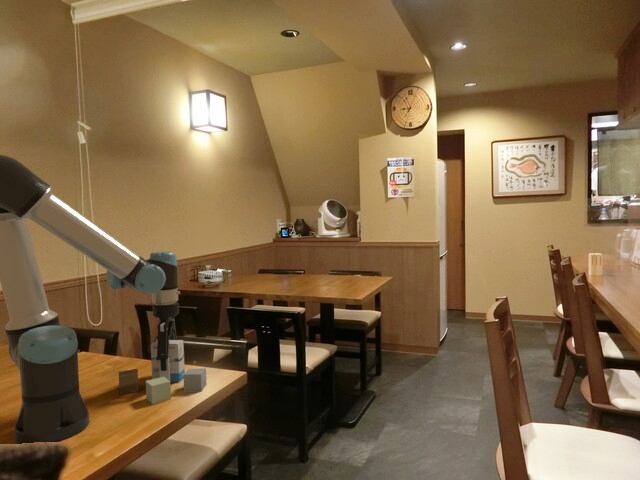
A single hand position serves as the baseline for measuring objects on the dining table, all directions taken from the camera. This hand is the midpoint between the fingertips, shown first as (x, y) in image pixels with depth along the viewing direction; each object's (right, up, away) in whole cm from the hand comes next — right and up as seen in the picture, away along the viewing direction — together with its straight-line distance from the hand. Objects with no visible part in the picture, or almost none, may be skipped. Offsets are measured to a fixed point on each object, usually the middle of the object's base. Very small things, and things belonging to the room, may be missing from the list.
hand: (168, 373), depth 139 cm
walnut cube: (-9, -2, -7) cm, 12 cm away
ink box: (0, -2, 0) cm, 2 cm away
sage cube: (+2, -3, -15) cm, 15 cm away
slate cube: (+10, -2, -8) cm, 13 cm away
